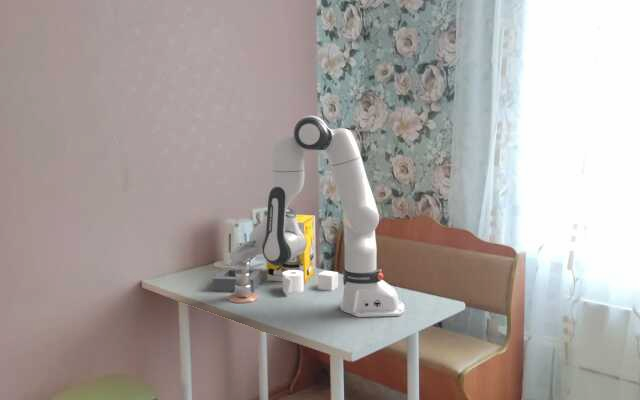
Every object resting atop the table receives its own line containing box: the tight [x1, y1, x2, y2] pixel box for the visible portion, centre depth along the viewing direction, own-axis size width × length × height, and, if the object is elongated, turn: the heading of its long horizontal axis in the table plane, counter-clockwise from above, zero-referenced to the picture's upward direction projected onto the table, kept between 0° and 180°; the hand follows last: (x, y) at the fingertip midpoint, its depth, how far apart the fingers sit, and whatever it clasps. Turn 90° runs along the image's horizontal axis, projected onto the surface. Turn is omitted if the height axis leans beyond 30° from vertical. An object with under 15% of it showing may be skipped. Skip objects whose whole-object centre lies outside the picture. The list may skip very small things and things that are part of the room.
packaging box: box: [265, 214, 317, 284], centre depth 238 cm, size 16×16×25 cm
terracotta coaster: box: [228, 292, 259, 304], centre depth 212 cm, size 11×11×1 cm
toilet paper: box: [281, 270, 305, 297], centre depth 220 cm, size 8×11×7 cm
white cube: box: [317, 270, 339, 292], centre depth 224 cm, size 6×6×6 cm
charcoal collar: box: [212, 267, 263, 293], centre depth 227 cm, size 16×15×5 cm
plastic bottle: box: [234, 242, 253, 297], centre depth 211 cm, size 6×7×20 cm
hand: (240, 261), depth 210 cm, fingers open, 8 cm apart
